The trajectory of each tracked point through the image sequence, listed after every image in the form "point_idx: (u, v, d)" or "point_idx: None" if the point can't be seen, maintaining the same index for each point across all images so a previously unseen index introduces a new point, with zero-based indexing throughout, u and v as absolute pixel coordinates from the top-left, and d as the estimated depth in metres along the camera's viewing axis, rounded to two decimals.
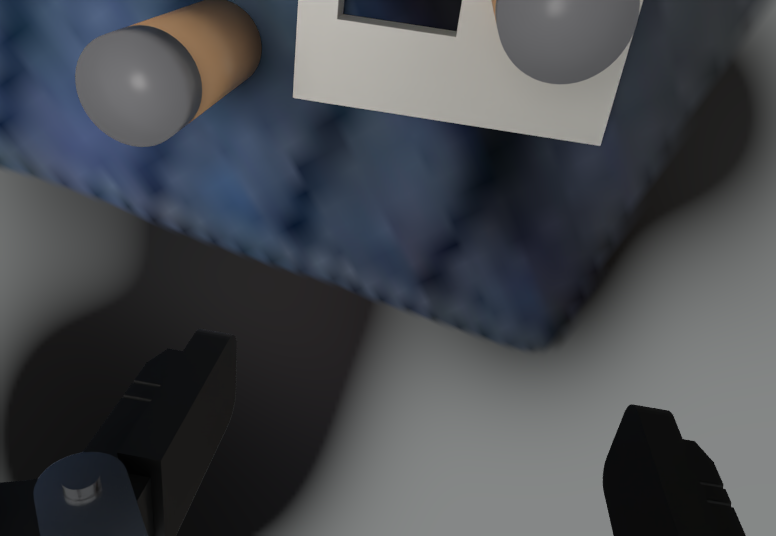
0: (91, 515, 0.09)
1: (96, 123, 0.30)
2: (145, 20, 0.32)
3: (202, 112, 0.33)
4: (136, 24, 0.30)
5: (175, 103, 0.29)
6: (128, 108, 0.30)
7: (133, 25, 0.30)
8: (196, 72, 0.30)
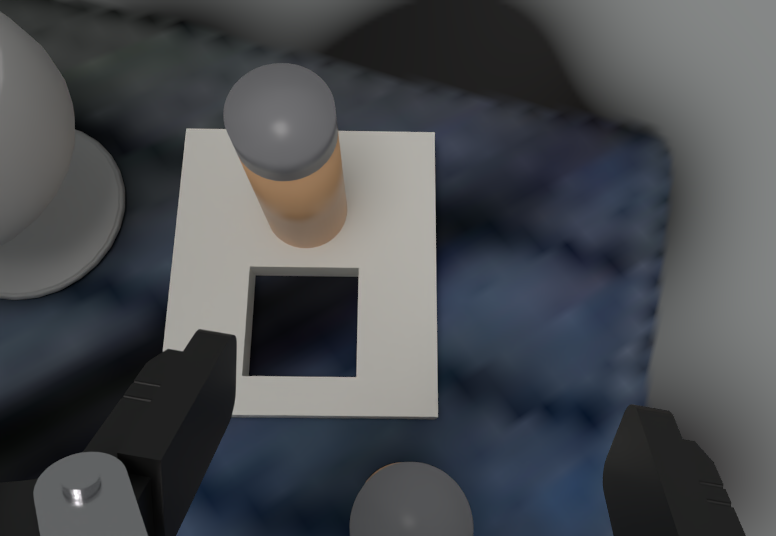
0: (90, 517, 0.09)
1: None
2: None
3: None
4: None
5: (416, 473, 0.27)
6: (430, 530, 0.27)
7: None
8: None
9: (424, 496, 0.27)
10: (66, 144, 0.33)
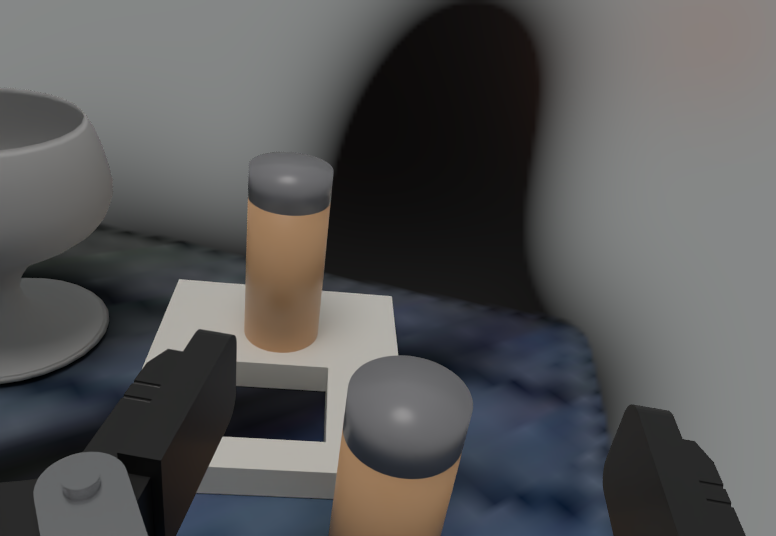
0: (91, 516, 0.09)
1: (459, 427, 0.25)
2: (342, 479, 0.27)
3: None
4: (343, 444, 0.27)
5: (411, 362, 0.28)
6: (429, 398, 0.26)
7: (344, 440, 0.26)
8: None
9: (420, 377, 0.27)
10: (103, 203, 0.40)
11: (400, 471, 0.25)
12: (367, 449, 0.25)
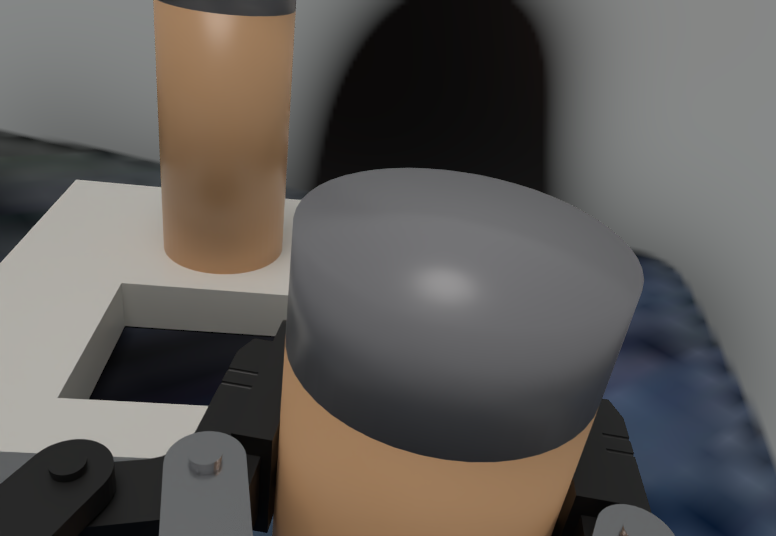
0: (207, 491, 0.09)
1: (622, 306, 0.08)
2: (286, 468, 0.10)
3: None
4: (286, 372, 0.10)
5: (459, 181, 0.11)
6: (519, 241, 0.10)
7: (288, 361, 0.10)
8: None
9: (487, 204, 0.11)
10: None
11: (447, 438, 0.08)
12: (347, 373, 0.08)
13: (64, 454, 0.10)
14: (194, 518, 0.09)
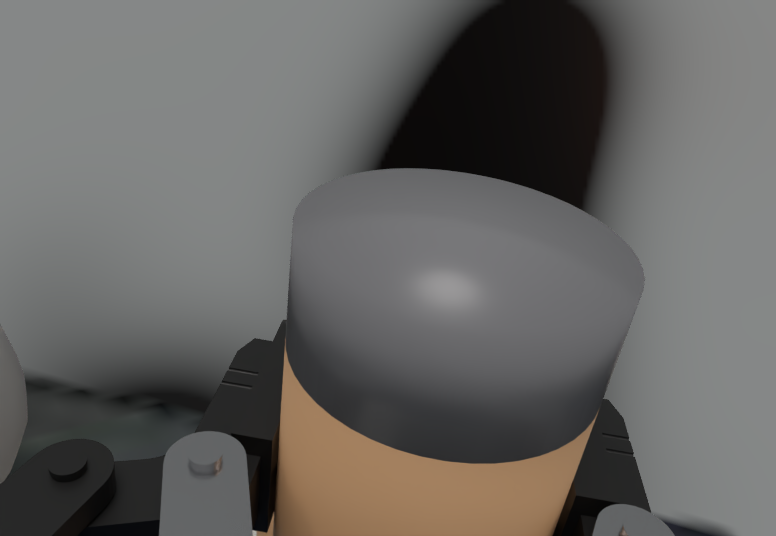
0: (207, 492, 0.09)
1: (622, 307, 0.08)
2: (286, 469, 0.10)
3: None
4: (286, 374, 0.10)
5: (459, 181, 0.11)
6: (519, 242, 0.10)
7: (288, 362, 0.10)
8: None
9: (487, 205, 0.11)
10: (3, 460, 0.22)
11: (447, 440, 0.08)
12: (347, 375, 0.08)
13: (64, 454, 0.10)
14: (194, 518, 0.09)
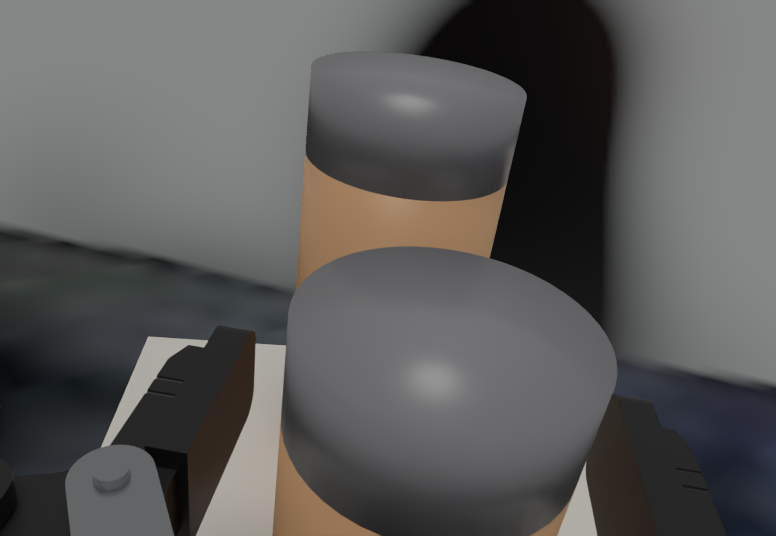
0: (119, 508, 0.09)
1: (594, 406, 0.09)
2: None
3: None
4: (282, 452, 0.10)
5: (446, 261, 0.12)
6: (501, 333, 0.10)
7: (283, 443, 0.10)
8: None
9: (473, 288, 0.11)
10: None
11: (431, 530, 0.09)
12: (338, 468, 0.09)
13: None
14: None
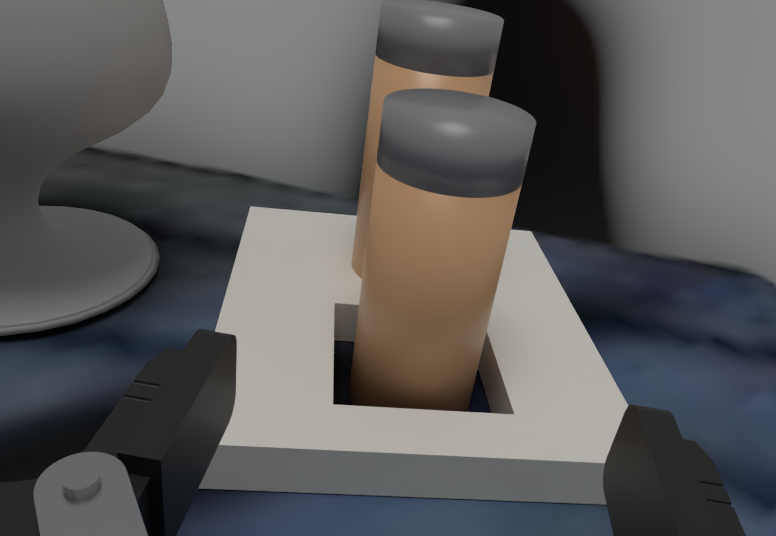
0: (91, 516, 0.09)
1: (522, 132, 0.20)
2: (376, 224, 0.22)
3: None
4: (378, 175, 0.22)
5: (456, 93, 0.23)
6: (482, 113, 0.22)
7: (380, 168, 0.22)
8: None
9: (469, 102, 0.23)
10: (164, 67, 0.27)
11: (451, 185, 0.20)
12: (410, 160, 0.20)
13: None
14: None
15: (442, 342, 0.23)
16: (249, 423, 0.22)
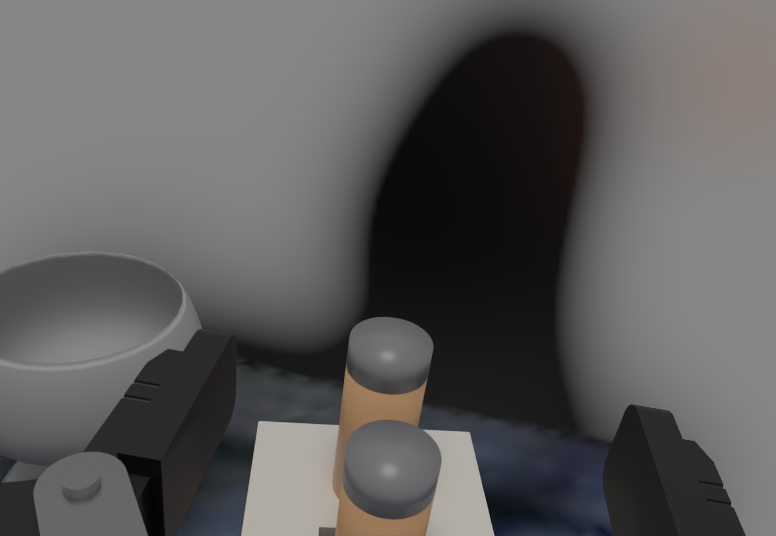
0: (91, 516, 0.09)
1: (430, 479, 0.33)
2: (342, 518, 0.35)
3: None
4: (343, 492, 0.34)
5: (394, 426, 0.36)
6: (408, 455, 0.34)
7: (343, 489, 0.34)
8: None
9: (401, 437, 0.35)
10: None
11: (386, 514, 0.33)
12: (361, 497, 0.33)
13: None
14: None
15: None
16: None
